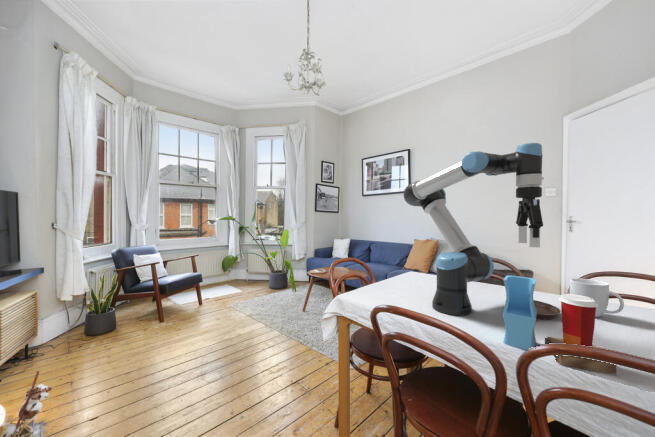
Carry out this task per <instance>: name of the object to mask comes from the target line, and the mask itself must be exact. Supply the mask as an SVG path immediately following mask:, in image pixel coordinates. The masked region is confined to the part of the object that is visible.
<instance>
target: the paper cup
mask: <svg viewBox="0 0 655 437" xmlns="http://www.w3.org/2000/svg"><path fill="white" fill-rule="evenodd" d="M558 300H559V301H560V304H561V305H560V307H561V309H560V311H561V324H562V325H561V326H562V339H563V341H564V343H566V344H577V345H585V346H592V344H593V343H594V342H593V341H594V333H595V325H596V324H595V323H596V317H595V313H596V307H597V306H598V305H597V304H596V301H595V300H594V299H592V298H590V297H586V296H581V295H575V294H570V293H564V294H562V295H560V298H558Z"/></svg>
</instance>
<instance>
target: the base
mask: <svg viewBox="0 0 655 437" xmlns="http://www.w3.org/2000/svg"><path fill="white" fill-rule="evenodd" d="M549 343H564V341H563V338H560V337H552V336H546V337H544V345H545V344H549ZM592 347H596V346H595V345H594V344H593V343H592ZM552 356H553V357H554V359H556V361H557V362H558V363H559V364H560V365H561V366H566V367H571V368H577V369H578V368H579V369H583V370H589V371H596V372H601V373H607V374H613V375H617V364H616V365H614V364H610V363H606V362H601V361H597V360H592V359H587V358H581V357H574V356H563V355H558V356H556V355H552Z"/></svg>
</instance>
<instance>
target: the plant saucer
mask: <svg viewBox="0 0 655 437" xmlns="http://www.w3.org/2000/svg"><path fill="white" fill-rule="evenodd" d="M533 300H534V304H535V307H536V310H537V315H536V320H552V319H554V318H556V317H557V316H558V315H560V314H561V313H562V310H561V309H560V308H559V307H557V306H555V305H554V304H550V303H547V302H544V301H539V300H536V299H533Z"/></svg>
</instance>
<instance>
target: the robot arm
mask: <svg viewBox="0 0 655 437" xmlns="http://www.w3.org/2000/svg"><path fill="white" fill-rule="evenodd" d="M543 157H544V156H543V145H542V144H541V143H539V142H527V143H521V144H520V145H518V146H517V147H516V149H515V151H514V152H510V153H507V154H497V153H488V152H483V151H469V152H468V153H466V154H465V155H464V156H463V157H462V159H461V160H460V161H459V162H456V163H454V164H452V165H450V166H448V167H446V168H444V169H442V170H440V171H437V172H436V173H434V174H432V175H430V176H428V177H426V178H424V179H422V180H415V181H413V182H411V183H410V184H408V185H407V186H406V187H405V189H404V190H403V199H404V201H405V202H406V204H408V205H409V206H412V207H421V209H422V210H423V212H424V213H425V214H428V215H429V216H430V217H431V219H432V220H433V222H434V224H435V225H436V227H437V229H438V230H439V232H440V234H441V235H442V237H443V239H444V240H445V242H446V244H447V245H448V248H450V251H451V252H449V251H448V252H442V253H440V254H439V255H438V256H437V257H436V266H435V267H436V291H435V292H434V295H433V298H432V302H431V304H432V306H431V307H432V309H434V310H436V311H438V312H439V313H442V314H446V315H449V316H450V315H451V316H452V315H453V316H467V315H470V314H472V313H473V306H472V303H471V299H470V297H469V294H468V283H470V282H471V283H472V282H476V281H477V282H480V281H483V280H486V279H488V278H490V277H491V276H492V274H493V272H494V266H495V264H494V262H493V259H492V257H490V256H489V254H488V253H487V254H486V253H485V252H484V253H483V252H481V250H480V249H479V247H478V246H476V245H474V244H472V243H471V242H470V240H469V239H468V237H467V236H466V235H465V233H464V232H463V230H462V228H461V227H460V225H459V224H458V223H457V220H456V219H455V218H454V216H453V215H452V213H451V212H450V210H449V209H448V207H447V206H446V204H447V194H446V190H445V188H448V187H450V186H453V185H456V184H457V183H460V182H463V181H465V180H467V179H469V178H471V177H474V176H477V175H479V174H485V175H486V176H488V177H489V176H490V177H493V176H499V175H506V174H512V173H514V174H515V186H516V189H515V197H516V199H521V200H519V201H518V208H517V209H518V210H517V215H516V221H515V224H516V225H517V243H518V244H527V243H528V240H527V239H528V229H529V248H541V228H542V227H543V226H544V221H543V217H542V211H541V204H540V198H542V196H543V188H542V184H543V180H544V177H543V172H542V171H543ZM537 198H539V199H537ZM528 222H529V224H528Z"/></svg>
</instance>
